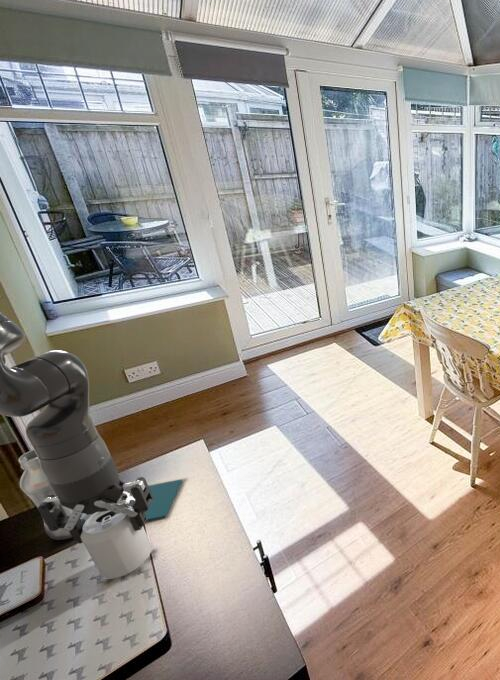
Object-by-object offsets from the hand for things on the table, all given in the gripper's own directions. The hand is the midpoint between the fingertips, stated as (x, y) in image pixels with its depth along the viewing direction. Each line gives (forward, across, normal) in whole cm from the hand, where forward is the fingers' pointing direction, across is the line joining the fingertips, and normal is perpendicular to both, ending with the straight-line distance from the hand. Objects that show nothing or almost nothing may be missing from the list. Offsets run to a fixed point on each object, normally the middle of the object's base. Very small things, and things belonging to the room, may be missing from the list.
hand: (113, 532), depth 75 cm
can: (+8, 0, 0) cm, 8 cm away
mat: (+8, +2, -14) cm, 16 cm away
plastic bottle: (+8, +13, -11) cm, 19 cm away
